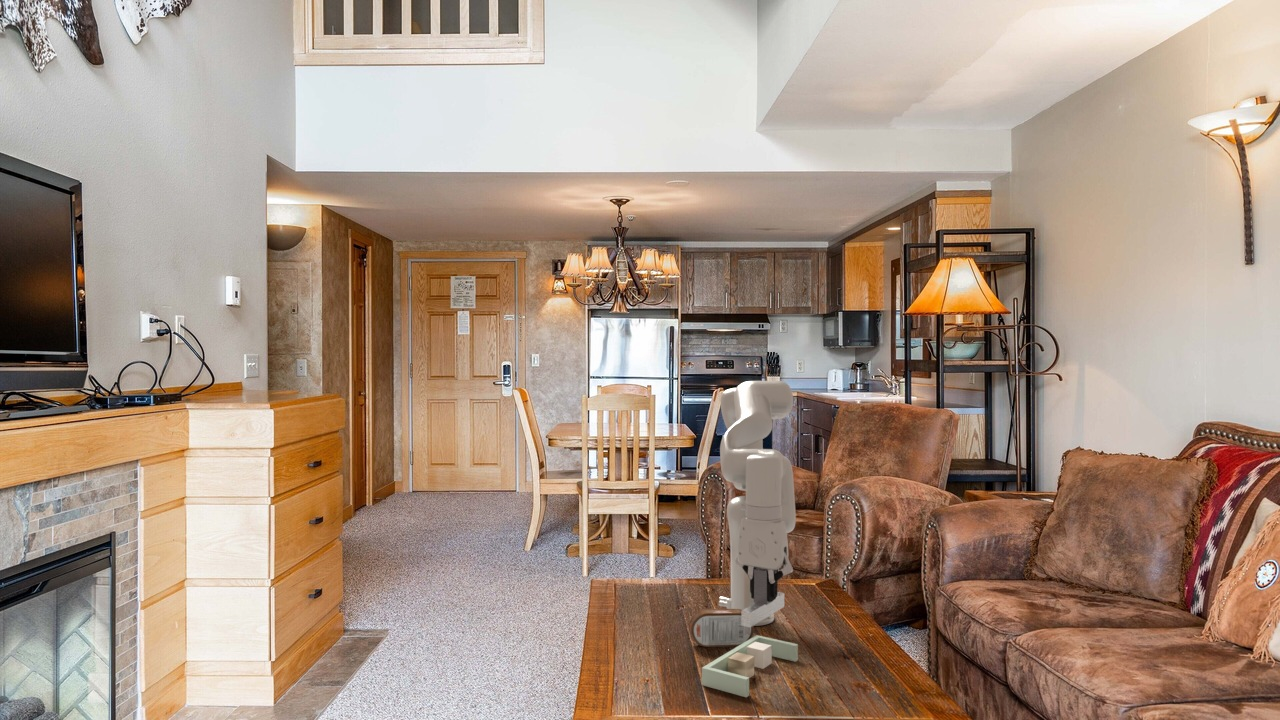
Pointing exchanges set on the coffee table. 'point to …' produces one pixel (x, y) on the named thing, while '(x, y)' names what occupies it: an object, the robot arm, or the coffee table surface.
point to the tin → (719, 628)
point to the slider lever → (761, 601)
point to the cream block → (760, 654)
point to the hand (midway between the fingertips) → (763, 597)
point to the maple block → (741, 664)
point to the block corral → (737, 684)
